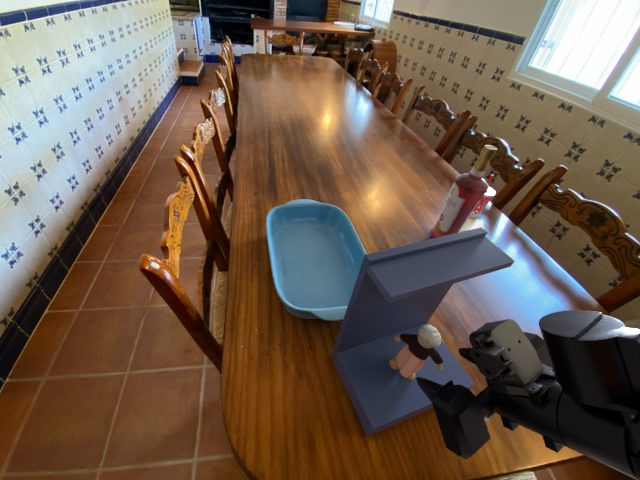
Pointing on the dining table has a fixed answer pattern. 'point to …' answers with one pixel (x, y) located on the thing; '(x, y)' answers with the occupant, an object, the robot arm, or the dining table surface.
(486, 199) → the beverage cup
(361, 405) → the stand
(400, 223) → the dining table surface
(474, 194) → the liquor
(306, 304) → the casserole dish
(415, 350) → the grandmother figurine
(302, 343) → the dining table surface
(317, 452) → the dining table surface
